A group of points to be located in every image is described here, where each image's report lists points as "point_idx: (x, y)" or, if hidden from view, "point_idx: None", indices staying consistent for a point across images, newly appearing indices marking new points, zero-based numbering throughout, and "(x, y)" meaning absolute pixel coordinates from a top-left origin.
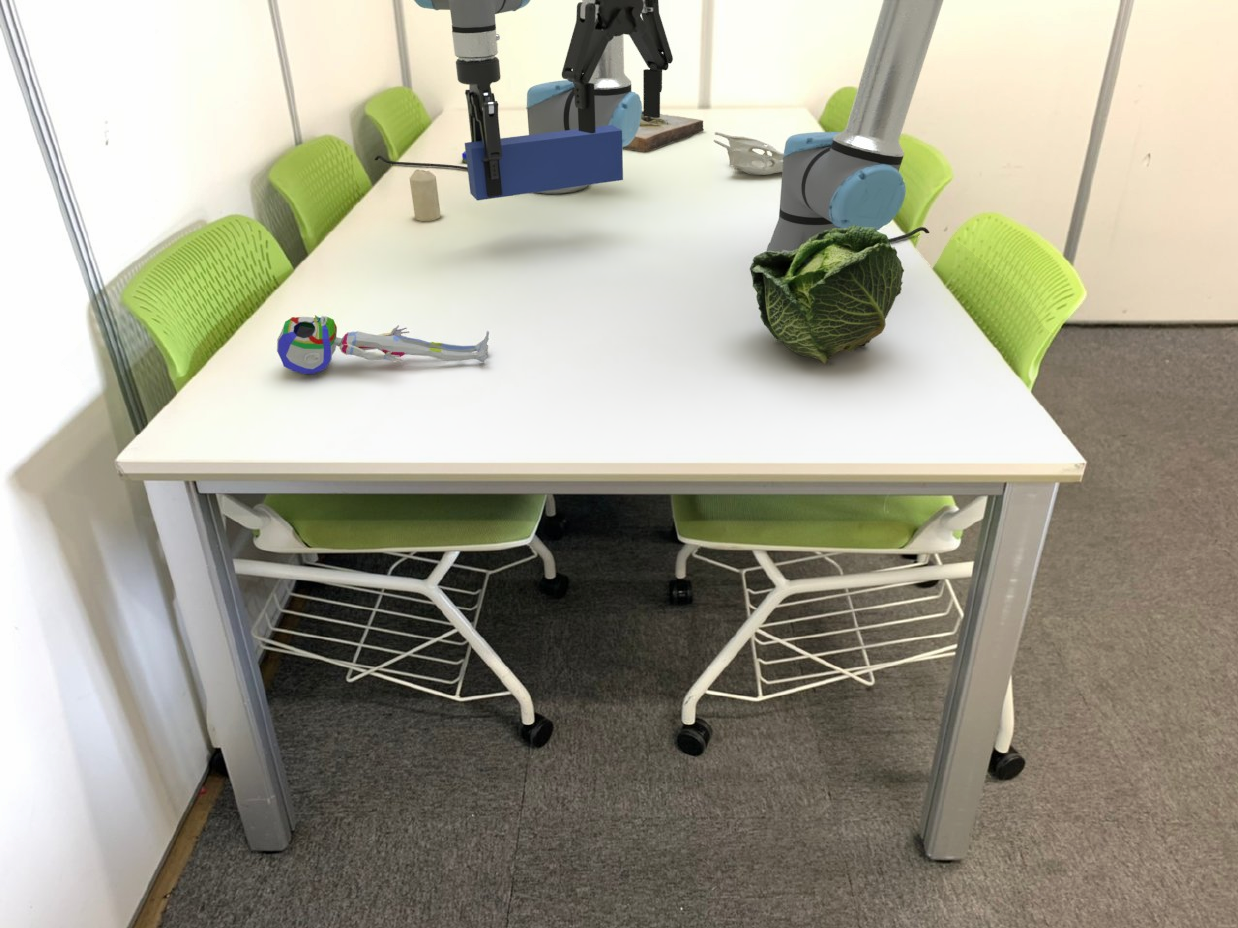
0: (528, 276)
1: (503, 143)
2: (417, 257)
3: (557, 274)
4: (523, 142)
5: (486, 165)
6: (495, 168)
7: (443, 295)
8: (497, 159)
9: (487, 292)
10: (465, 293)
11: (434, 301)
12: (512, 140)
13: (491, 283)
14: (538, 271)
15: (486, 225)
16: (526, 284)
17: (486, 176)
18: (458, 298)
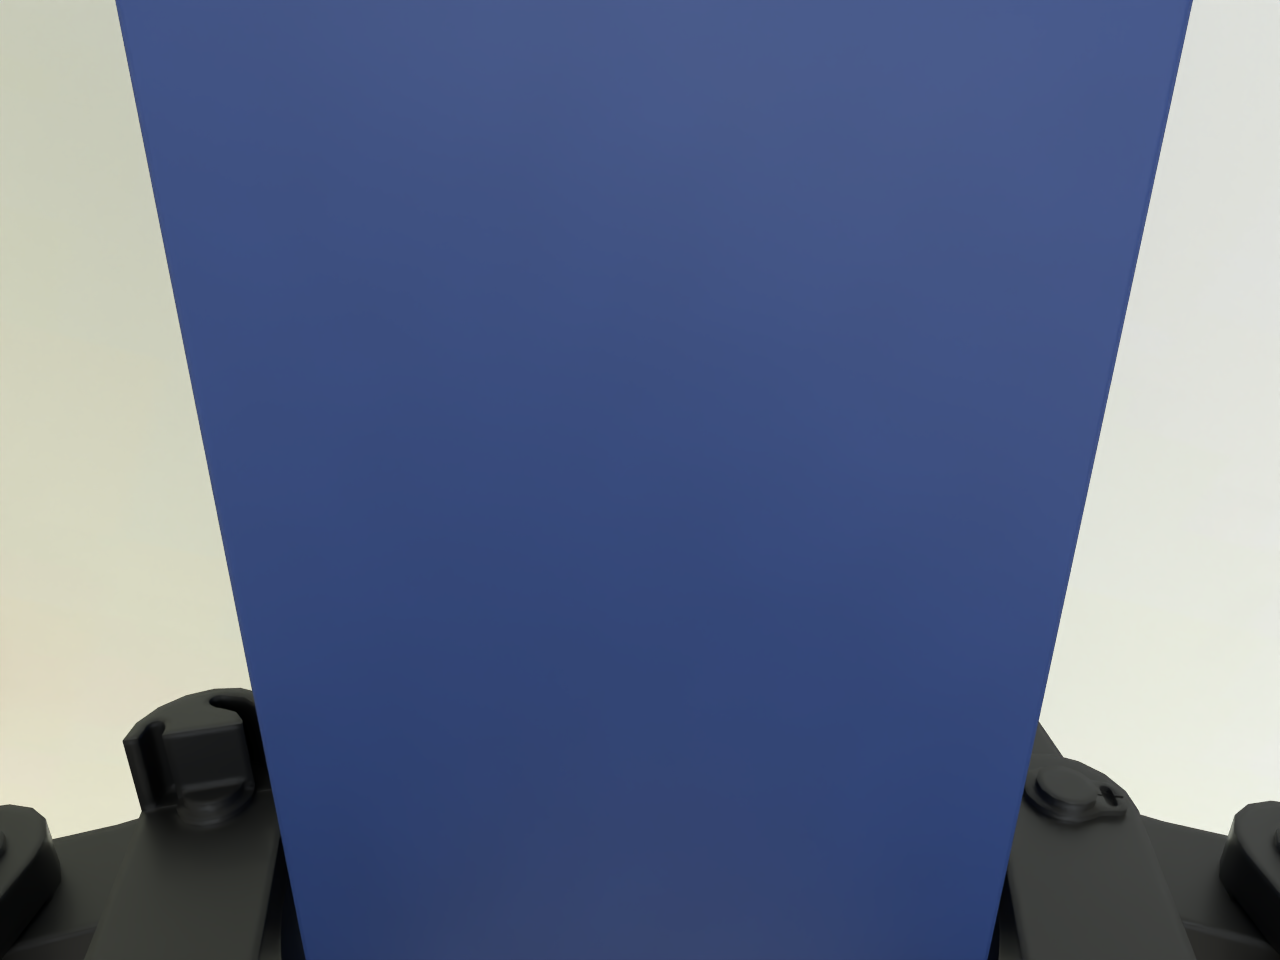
0: (1137, 313)
1: (872, 765)
2: None
3: (1222, 121)
4: (1145, 185)
5: None
6: None
7: (1121, 770)
8: (1182, 837)
9: (1221, 586)
10: (1162, 681)
11: (1167, 815)
12: (661, 455)
13: (1111, 536)
14: None
15: (19, 280)
16: (1252, 365)
17: None
18: (1203, 722)
